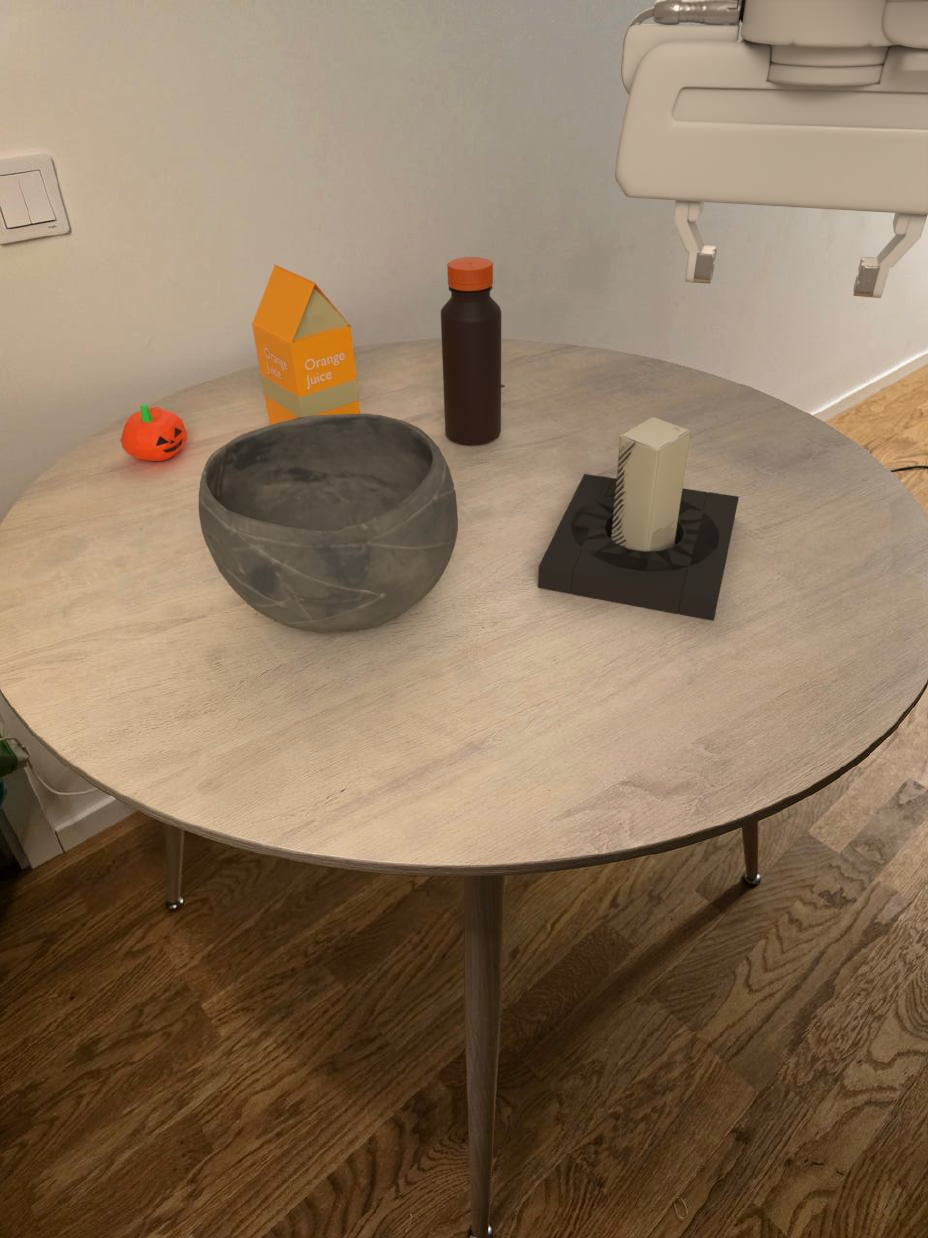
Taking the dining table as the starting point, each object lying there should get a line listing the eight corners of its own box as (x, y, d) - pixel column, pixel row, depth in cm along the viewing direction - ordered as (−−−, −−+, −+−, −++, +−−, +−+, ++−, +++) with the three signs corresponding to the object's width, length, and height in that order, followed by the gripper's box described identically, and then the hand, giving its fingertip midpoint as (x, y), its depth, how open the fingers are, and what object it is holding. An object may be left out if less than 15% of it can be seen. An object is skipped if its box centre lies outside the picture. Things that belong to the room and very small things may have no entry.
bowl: (188, 596, 80) (148, 450, 71) (379, 519, 90) (365, 382, 81) (297, 722, 67) (265, 563, 58) (507, 615, 77) (508, 465, 68)
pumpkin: (196, 438, 106) (184, 388, 102) (181, 470, 100) (168, 418, 96) (137, 440, 106) (123, 390, 102) (119, 472, 99) (103, 420, 95)
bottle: (511, 437, 104) (513, 265, 92) (463, 452, 101) (459, 276, 89) (482, 416, 109) (480, 250, 96) (435, 430, 106) (427, 260, 94)
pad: (734, 517, 89) (739, 496, 87) (713, 621, 76) (718, 598, 74) (582, 493, 93) (584, 473, 92) (537, 588, 80) (538, 566, 79)
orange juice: (308, 467, 99) (281, 290, 87) (271, 441, 105) (240, 270, 92) (365, 447, 103) (347, 274, 91) (326, 422, 108) (304, 256, 96)
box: (639, 532, 87) (653, 413, 79) (675, 549, 85) (694, 428, 77) (606, 553, 84) (618, 432, 76) (643, 571, 82) (659, 448, 74)
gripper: (614, 1, 42) (594, 288, 51) (1088, -1, 37) (975, 322, 46) (637, -7, 47) (615, 257, 56) (1062, -10, 42) (964, 284, 50)
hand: (780, 287), depth 51 cm, fingers open, 8 cm apart
